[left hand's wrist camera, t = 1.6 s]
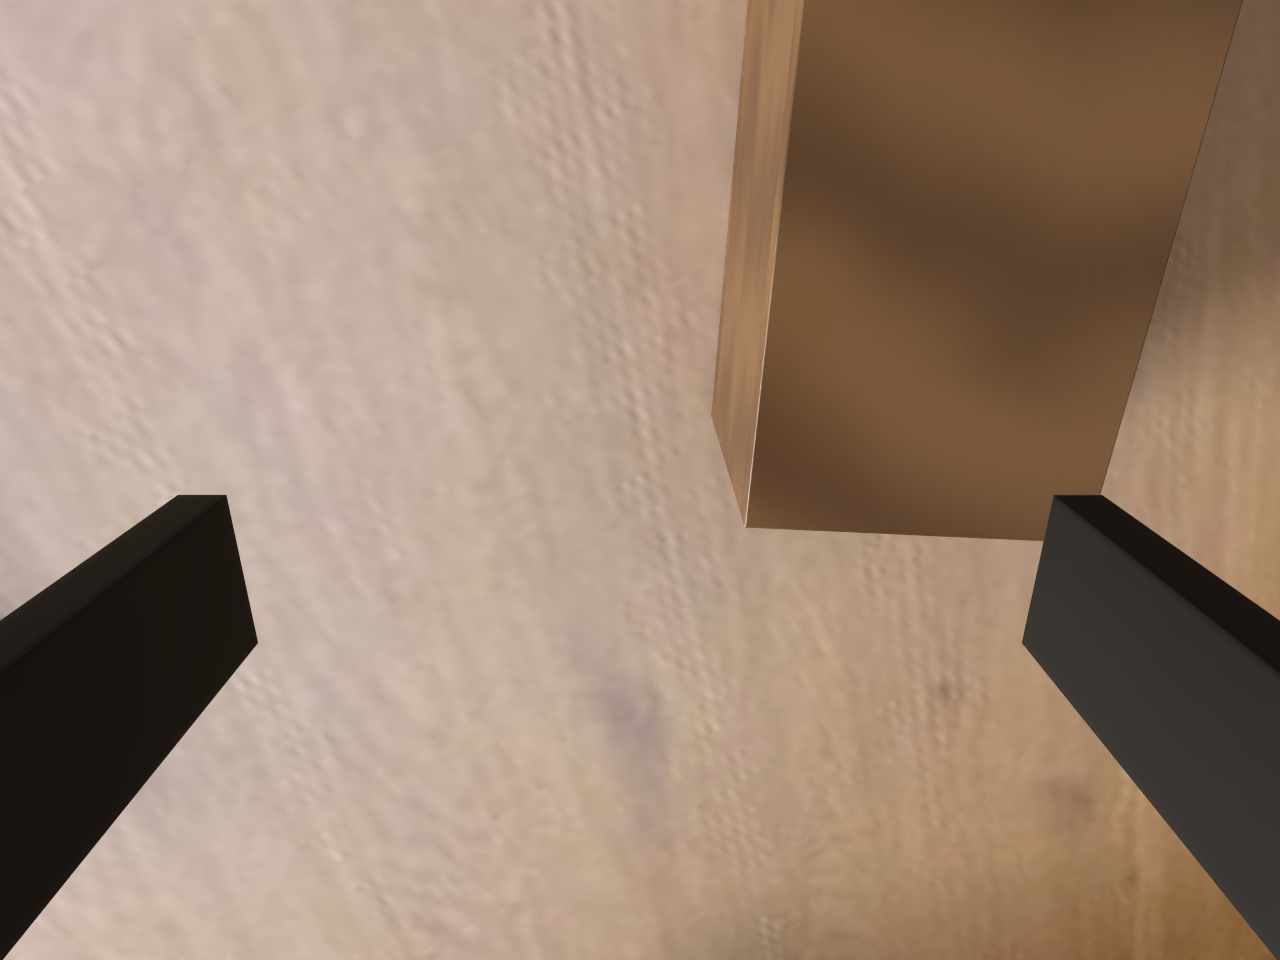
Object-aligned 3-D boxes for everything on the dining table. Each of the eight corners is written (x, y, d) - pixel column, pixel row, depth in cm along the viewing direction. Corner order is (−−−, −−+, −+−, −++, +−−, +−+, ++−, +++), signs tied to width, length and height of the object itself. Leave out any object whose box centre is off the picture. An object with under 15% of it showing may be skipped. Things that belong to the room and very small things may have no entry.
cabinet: (755, -87, 27) (830, -255, 16) (1049, -70, 27) (1308, -223, 17) (711, 417, 34) (744, 528, 23) (947, 428, 34) (1087, 544, 23)
